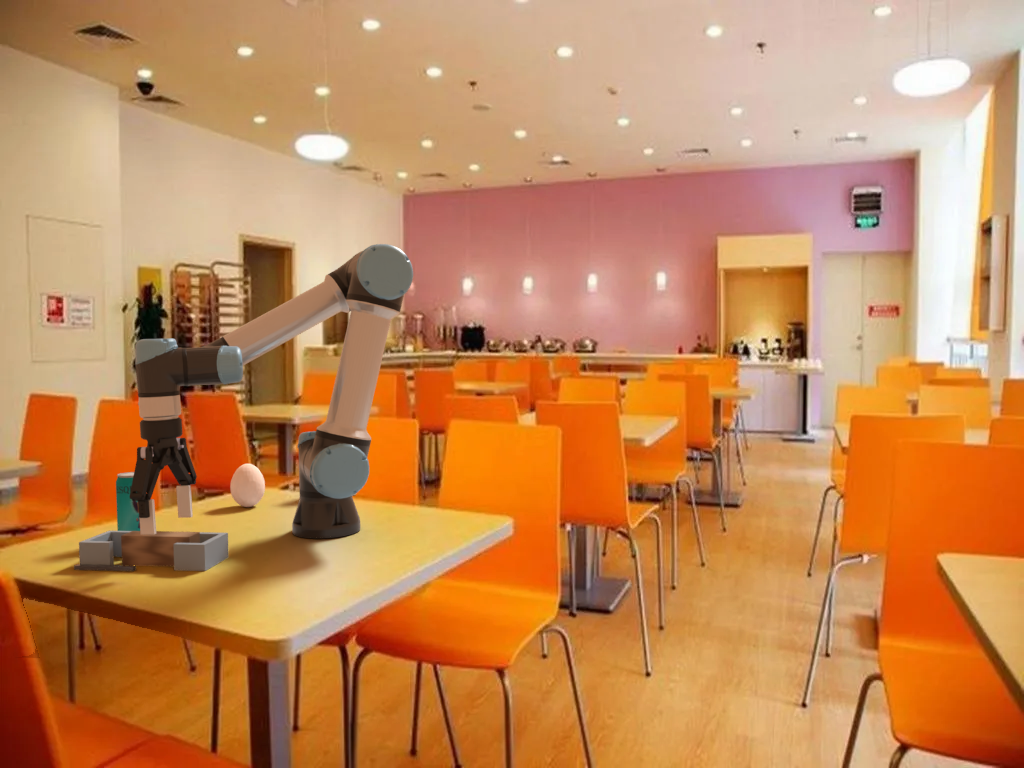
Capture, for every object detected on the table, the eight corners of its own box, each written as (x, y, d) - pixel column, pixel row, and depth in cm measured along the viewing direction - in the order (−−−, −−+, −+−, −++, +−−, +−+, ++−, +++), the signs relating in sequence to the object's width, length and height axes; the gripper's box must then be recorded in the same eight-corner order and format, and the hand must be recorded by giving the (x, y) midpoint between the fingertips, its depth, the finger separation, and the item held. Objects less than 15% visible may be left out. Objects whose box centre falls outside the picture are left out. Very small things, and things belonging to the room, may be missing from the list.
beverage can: (135, 546, 172) (133, 476, 171) (112, 545, 173) (109, 475, 172) (152, 539, 177) (150, 471, 176) (129, 538, 178) (127, 471, 178)
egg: (238, 503, 216) (237, 461, 216) (270, 503, 216) (269, 461, 215) (225, 510, 208) (224, 466, 207) (258, 510, 207) (257, 466, 207)
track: (167, 554, 165) (167, 550, 165) (133, 571, 153) (133, 567, 153) (112, 553, 166) (112, 549, 166) (74, 569, 154) (73, 565, 154)
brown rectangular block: (200, 561, 159) (199, 531, 159) (190, 567, 156) (189, 536, 155) (133, 560, 161) (132, 530, 161) (122, 566, 157) (121, 535, 157)
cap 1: (138, 555, 164) (137, 531, 164) (110, 568, 155) (109, 542, 154) (110, 554, 165) (109, 530, 164) (79, 567, 155) (78, 542, 155)
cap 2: (228, 557, 162) (227, 532, 162) (205, 570, 152) (204, 544, 152) (199, 556, 163) (198, 532, 162) (174, 570, 153) (173, 544, 153)
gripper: (175, 411, 170) (182, 511, 171) (103, 426, 145) (111, 542, 146) (209, 410, 169) (216, 510, 170) (142, 425, 144) (150, 541, 145)
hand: (167, 525), depth 158 cm, fingers open, 13 cm apart
